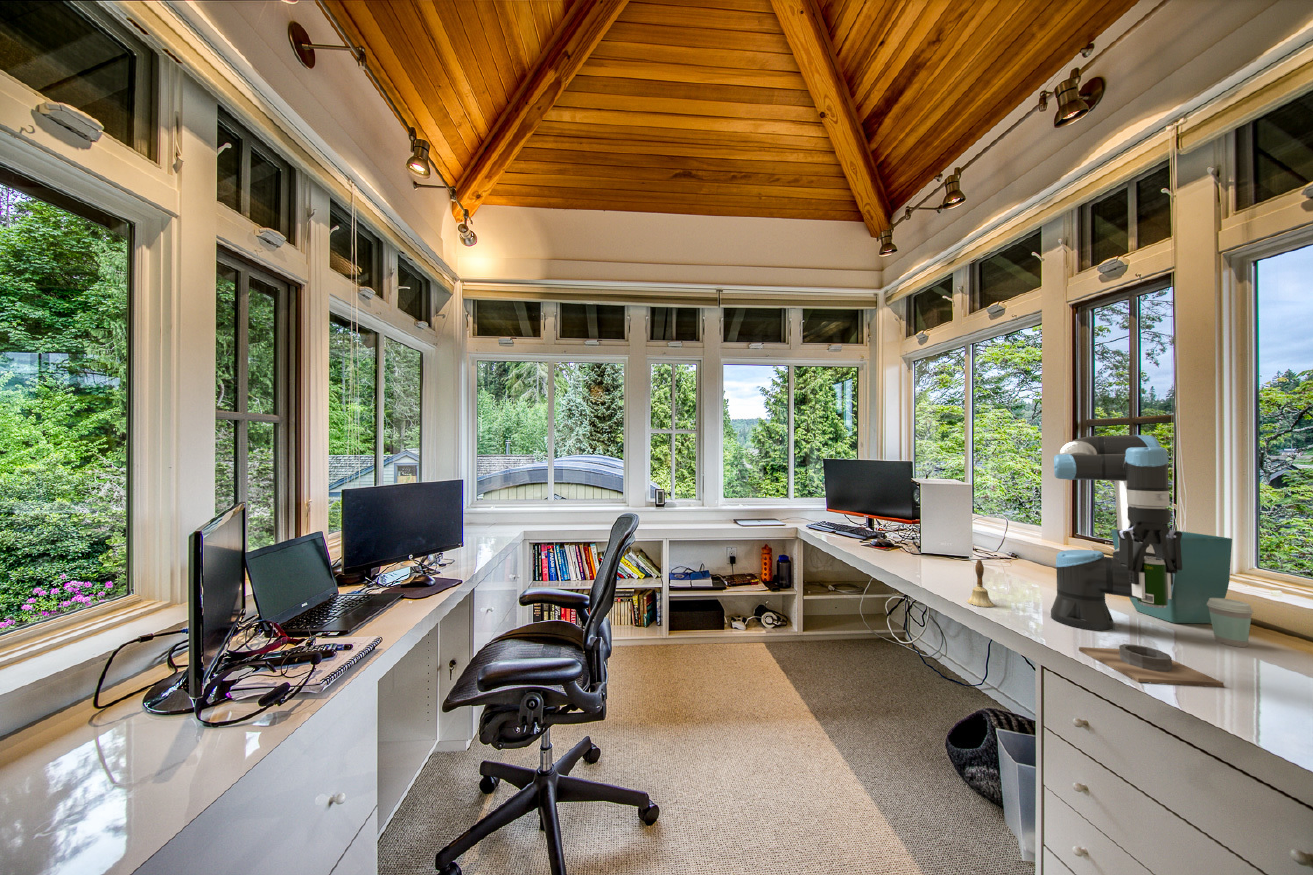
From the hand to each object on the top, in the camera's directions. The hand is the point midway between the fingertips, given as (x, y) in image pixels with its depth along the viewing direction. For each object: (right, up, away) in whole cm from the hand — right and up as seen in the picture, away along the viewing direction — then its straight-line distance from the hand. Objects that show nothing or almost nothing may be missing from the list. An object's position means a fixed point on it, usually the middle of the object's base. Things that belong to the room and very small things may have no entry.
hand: (1151, 596), depth 117 cm
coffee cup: (+40, -19, +15) cm, 47 cm away
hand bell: (-8, -20, +51) cm, 55 cm away
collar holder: (-1, -18, 0) cm, 18 cm away
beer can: (0, -2, 0) cm, 2 cm away
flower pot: (+47, -20, +37) cm, 63 cm away
